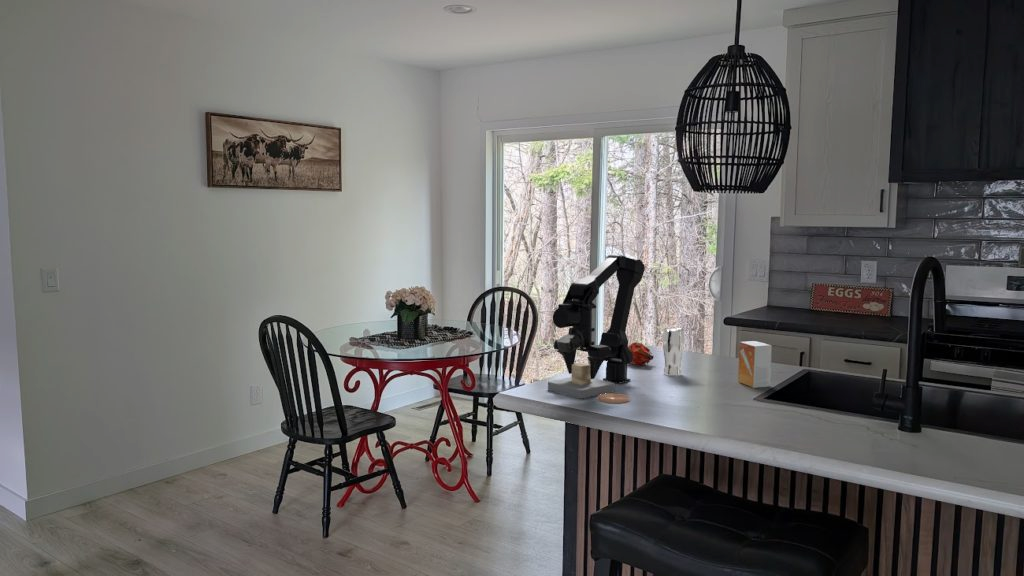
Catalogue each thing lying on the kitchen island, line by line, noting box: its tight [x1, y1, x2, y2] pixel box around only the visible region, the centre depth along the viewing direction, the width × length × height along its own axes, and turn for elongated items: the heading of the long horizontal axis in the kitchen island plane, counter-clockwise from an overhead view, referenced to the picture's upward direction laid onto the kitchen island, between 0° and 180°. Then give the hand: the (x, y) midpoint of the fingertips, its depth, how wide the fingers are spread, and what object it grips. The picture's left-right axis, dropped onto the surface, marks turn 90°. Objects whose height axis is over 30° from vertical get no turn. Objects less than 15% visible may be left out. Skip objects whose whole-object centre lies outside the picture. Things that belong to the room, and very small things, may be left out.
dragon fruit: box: [628, 341, 654, 367], centre depth 256 cm, size 8×8×12 cm
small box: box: [737, 340, 773, 389], centre depth 227 cm, size 8×6×13 cm
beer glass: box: [662, 327, 686, 377], centre depth 240 cm, size 7×7×15 cm
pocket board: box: [547, 376, 616, 400], centre depth 218 cm, size 14×14×2 cm
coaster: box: [597, 392, 630, 404], centre depth 208 cm, size 9×9×1 cm
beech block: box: [571, 362, 591, 385], centre depth 218 cm, size 4×4×8 cm
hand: (581, 376), depth 218 cm, fingers open, 9 cm apart
